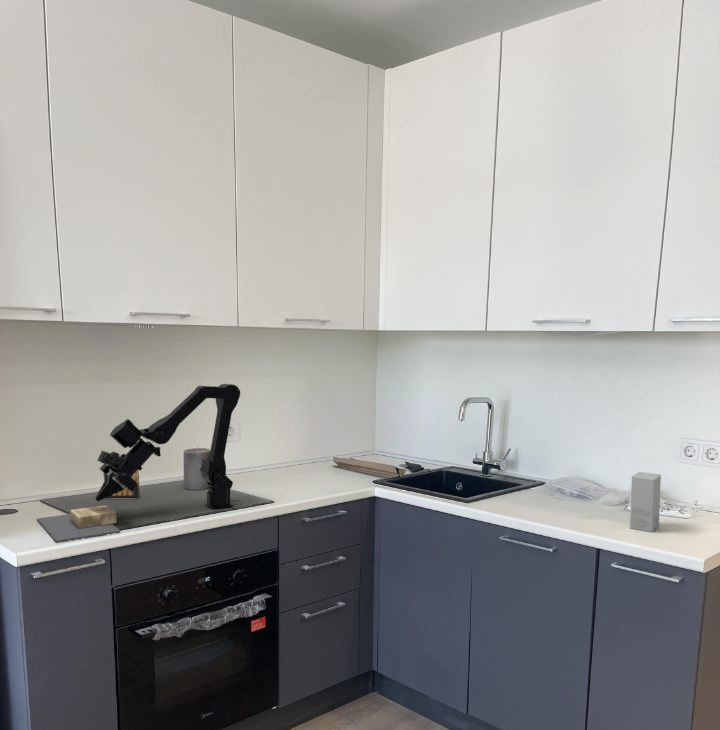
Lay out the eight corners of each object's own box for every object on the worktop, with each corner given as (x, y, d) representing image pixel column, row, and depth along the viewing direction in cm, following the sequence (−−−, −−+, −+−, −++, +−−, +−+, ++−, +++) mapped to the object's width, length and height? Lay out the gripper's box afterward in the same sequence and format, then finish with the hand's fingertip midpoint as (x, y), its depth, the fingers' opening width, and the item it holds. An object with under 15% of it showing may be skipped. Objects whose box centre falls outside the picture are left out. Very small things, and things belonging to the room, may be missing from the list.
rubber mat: (94, 512, 191) (94, 510, 191) (120, 532, 170) (120, 530, 170) (36, 520, 181) (36, 518, 181) (56, 543, 161) (56, 540, 161)
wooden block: (106, 505, 185) (70, 509, 179) (116, 512, 177) (78, 517, 171) (106, 515, 185) (70, 520, 179) (116, 523, 177) (78, 528, 171)
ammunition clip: (105, 499, 208) (105, 463, 208) (107, 498, 210) (107, 462, 210) (138, 498, 209) (138, 463, 209) (139, 497, 211) (140, 462, 211)
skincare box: (637, 522, 187) (638, 471, 187) (661, 527, 183) (662, 474, 183) (629, 528, 181) (630, 475, 180) (653, 533, 177) (654, 478, 176)
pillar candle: (203, 483, 235) (202, 443, 234) (215, 487, 227) (215, 446, 227) (178, 487, 228) (178, 446, 228) (191, 491, 221) (190, 449, 220)
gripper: (106, 436, 189) (67, 477, 183) (125, 444, 174) (83, 488, 168) (133, 460, 194) (95, 500, 187) (153, 469, 179) (113, 513, 173)
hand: (96, 500), depth 179 cm, fingers closed
